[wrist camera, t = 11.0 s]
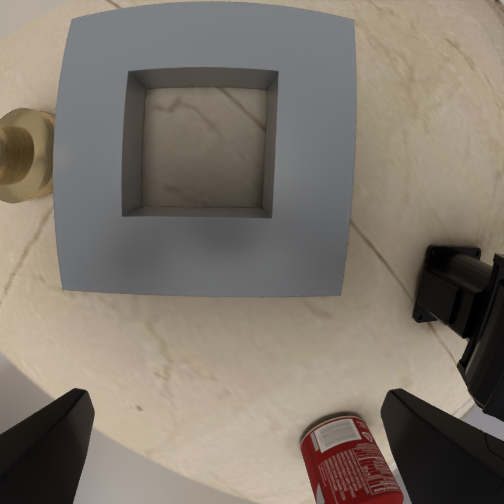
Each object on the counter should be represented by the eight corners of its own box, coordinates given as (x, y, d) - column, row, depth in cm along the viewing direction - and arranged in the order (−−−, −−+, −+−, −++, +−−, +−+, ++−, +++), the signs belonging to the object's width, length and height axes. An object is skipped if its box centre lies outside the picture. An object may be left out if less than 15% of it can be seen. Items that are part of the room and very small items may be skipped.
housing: (331, 42, 16) (354, 19, 13) (320, 272, 21) (340, 295, 17) (95, 40, 15) (71, 19, 11) (88, 268, 19) (62, 290, 15)
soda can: (301, 417, 24) (337, 528, 13) (369, 404, 25) (424, 499, 13) (296, 458, 26) (322, 553, 15) (356, 446, 27) (395, 531, 15)
